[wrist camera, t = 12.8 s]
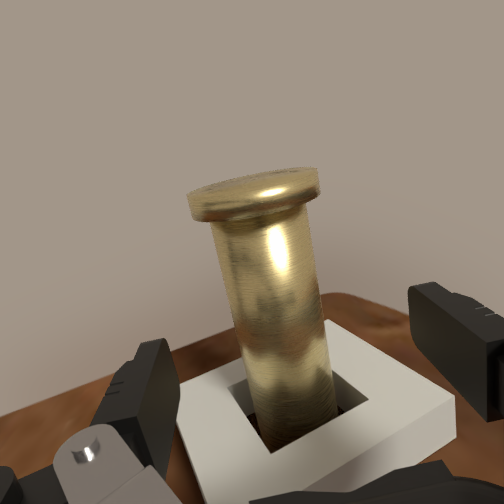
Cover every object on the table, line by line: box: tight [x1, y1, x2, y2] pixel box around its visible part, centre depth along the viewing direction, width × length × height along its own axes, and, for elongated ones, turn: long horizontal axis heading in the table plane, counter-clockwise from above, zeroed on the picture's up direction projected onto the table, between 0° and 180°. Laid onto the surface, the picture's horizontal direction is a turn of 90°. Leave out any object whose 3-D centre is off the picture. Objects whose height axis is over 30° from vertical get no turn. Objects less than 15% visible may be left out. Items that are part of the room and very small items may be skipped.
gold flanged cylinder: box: [187, 167, 339, 454], centre depth 18 cm, size 6×6×14 cm
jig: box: [176, 319, 456, 504], centre depth 20 cm, size 12×10×2 cm
